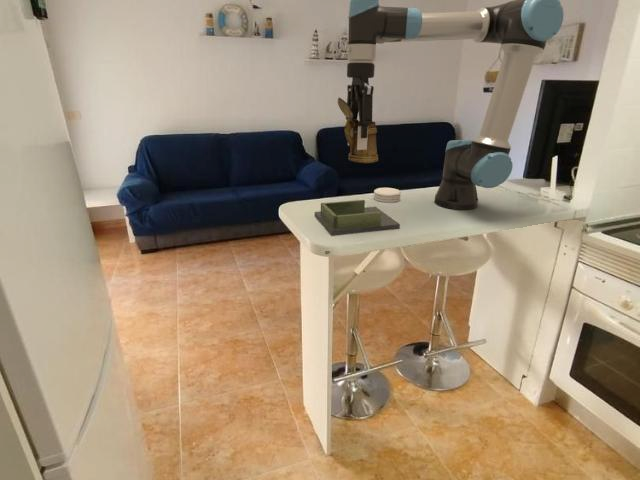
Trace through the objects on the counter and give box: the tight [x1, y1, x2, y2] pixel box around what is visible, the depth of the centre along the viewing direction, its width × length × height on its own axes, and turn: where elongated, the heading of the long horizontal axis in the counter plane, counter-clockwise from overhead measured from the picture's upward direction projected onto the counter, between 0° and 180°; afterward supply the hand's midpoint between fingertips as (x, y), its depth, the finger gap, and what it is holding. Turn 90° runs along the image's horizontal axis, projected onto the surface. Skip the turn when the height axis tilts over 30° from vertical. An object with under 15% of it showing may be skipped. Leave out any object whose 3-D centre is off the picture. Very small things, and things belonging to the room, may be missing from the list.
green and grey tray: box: [314, 199, 401, 237], centre depth 125 cm, size 22×18×5 cm
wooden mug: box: [337, 97, 379, 164], centre depth 114 cm, size 9×14×18 cm, turn 113°
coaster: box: [373, 187, 402, 204], centre depth 149 cm, size 10×10×4 cm
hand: (357, 147), depth 116 cm, fingers closed on wooden mug, 7 cm apart
